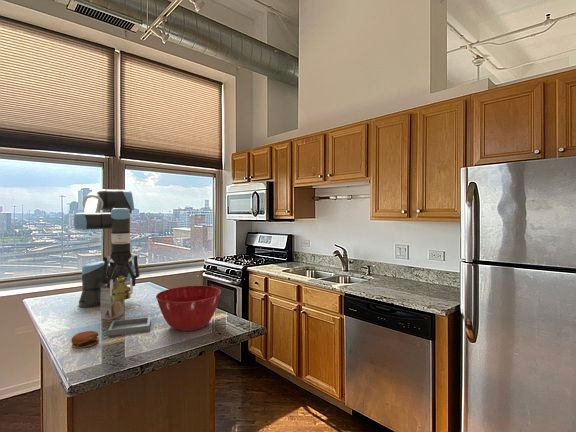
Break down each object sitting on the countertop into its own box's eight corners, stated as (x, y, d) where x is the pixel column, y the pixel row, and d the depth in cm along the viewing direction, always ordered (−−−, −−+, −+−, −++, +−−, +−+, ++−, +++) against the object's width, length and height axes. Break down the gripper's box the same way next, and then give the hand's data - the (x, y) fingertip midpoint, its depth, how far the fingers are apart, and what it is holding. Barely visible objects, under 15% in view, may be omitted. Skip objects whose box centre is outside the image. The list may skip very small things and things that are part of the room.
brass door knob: (126, 300, 146) (126, 277, 146) (109, 301, 146) (108, 278, 145) (133, 296, 153) (133, 274, 153) (116, 296, 153) (116, 274, 153)
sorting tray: (112, 326, 154) (112, 320, 154) (150, 321, 159) (150, 316, 159) (108, 336, 142) (108, 330, 141) (149, 331, 147) (149, 325, 147)
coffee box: (113, 313, 173) (113, 282, 172) (124, 314, 171) (124, 282, 171) (100, 319, 164) (99, 286, 163) (111, 319, 162) (111, 286, 162)
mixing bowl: (203, 340, 136) (202, 302, 136) (142, 334, 143) (141, 298, 143) (230, 318, 164) (230, 287, 164) (178, 314, 170) (178, 284, 170)
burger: (70, 343, 134) (70, 331, 134) (97, 338, 140) (97, 327, 140) (71, 351, 126) (71, 339, 126) (100, 346, 132) (100, 334, 132)
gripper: (93, 244, 142) (94, 298, 143) (145, 242, 149) (145, 294, 149) (97, 243, 149) (97, 294, 150) (146, 241, 156) (146, 290, 156)
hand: (121, 294), depth 149 cm, fingers closed on brass door knob, 7 cm apart
